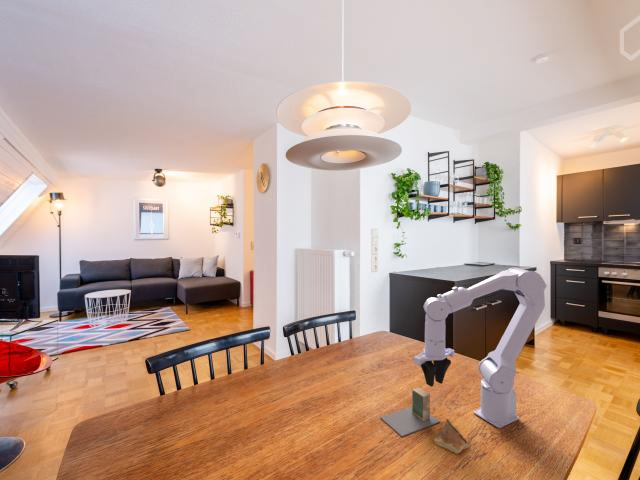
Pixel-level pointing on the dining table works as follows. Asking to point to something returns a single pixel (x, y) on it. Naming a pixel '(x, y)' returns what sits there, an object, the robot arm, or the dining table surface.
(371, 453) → the dining table surface
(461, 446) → the shard
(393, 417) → the felt mat
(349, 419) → the dining table surface
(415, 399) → the beech block
